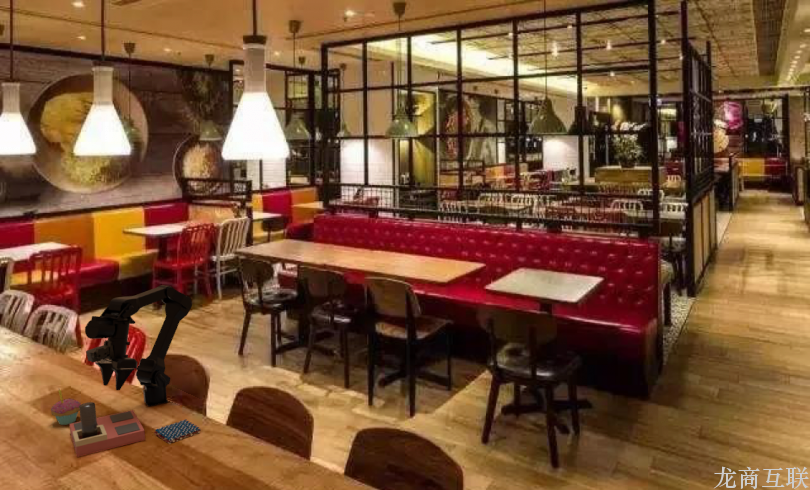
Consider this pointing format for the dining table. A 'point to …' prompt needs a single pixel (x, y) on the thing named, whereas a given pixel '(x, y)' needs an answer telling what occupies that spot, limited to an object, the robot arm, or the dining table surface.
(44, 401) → the dining table surface
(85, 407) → the stool leg
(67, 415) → the cupcake
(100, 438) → the pink control box
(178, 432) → the woven mat
